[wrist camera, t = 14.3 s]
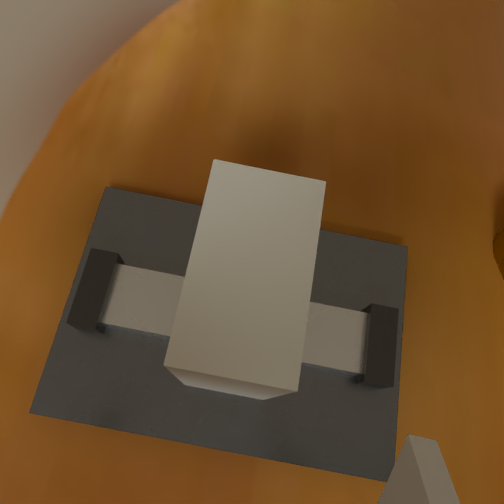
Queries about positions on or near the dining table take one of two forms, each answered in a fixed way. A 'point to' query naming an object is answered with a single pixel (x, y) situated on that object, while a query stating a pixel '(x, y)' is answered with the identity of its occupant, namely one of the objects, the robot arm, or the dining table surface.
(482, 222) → the dining table surface
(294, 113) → the dining table surface
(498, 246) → the element tile
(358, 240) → the mounting plate
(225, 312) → the block
